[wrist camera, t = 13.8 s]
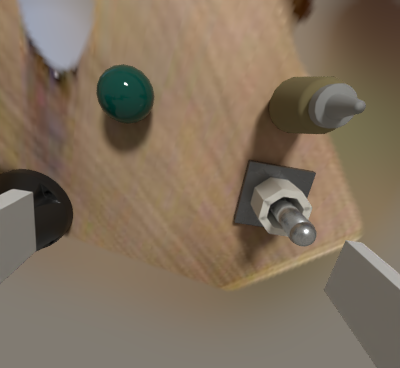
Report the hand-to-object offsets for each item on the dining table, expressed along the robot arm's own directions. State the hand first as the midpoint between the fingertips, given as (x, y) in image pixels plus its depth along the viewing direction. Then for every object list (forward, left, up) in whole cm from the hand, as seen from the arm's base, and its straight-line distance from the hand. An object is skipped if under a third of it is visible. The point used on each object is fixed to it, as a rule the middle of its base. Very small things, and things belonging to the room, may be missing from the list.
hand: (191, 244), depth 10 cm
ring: (+16, -8, -30) cm, 35 cm away
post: (+16, -8, -32) cm, 36 cm away
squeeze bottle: (+14, +8, -32) cm, 36 cm away
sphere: (-11, +5, -32) cm, 34 cm away
